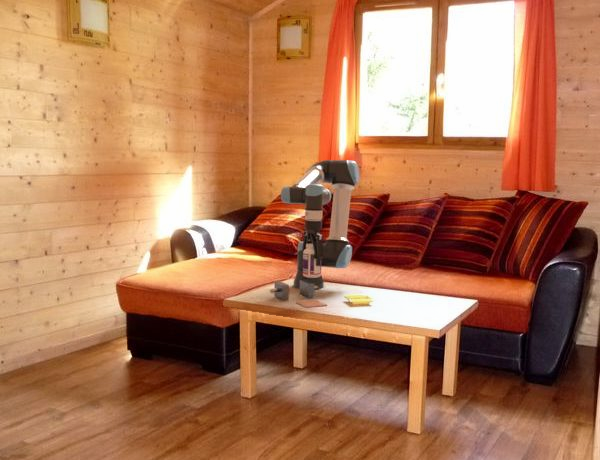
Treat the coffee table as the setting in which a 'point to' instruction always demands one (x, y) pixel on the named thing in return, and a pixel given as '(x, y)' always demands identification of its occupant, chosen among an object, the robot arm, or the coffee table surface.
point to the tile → (311, 303)
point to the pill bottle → (309, 262)
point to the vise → (283, 290)
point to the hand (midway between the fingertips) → (312, 271)
